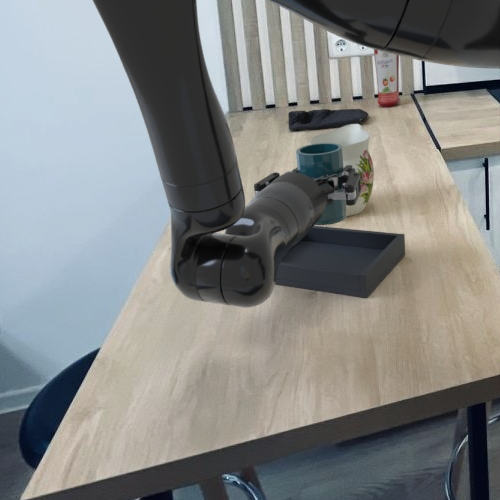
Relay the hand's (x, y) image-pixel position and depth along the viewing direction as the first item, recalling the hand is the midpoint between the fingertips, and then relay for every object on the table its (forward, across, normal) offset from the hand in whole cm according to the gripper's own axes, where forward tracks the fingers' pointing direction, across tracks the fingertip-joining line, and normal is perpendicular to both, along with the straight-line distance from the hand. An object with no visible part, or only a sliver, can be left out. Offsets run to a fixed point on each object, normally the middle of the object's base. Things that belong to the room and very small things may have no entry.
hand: (326, 171), depth 93 cm
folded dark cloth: (+90, +29, +14) cm, 95 cm away
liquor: (+111, +17, +13) cm, 113 cm away
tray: (-2, 0, +14) cm, 14 cm away
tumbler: (-2, 0, +6) cm, 6 cm away
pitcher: (+21, +5, +14) cm, 25 cm away
